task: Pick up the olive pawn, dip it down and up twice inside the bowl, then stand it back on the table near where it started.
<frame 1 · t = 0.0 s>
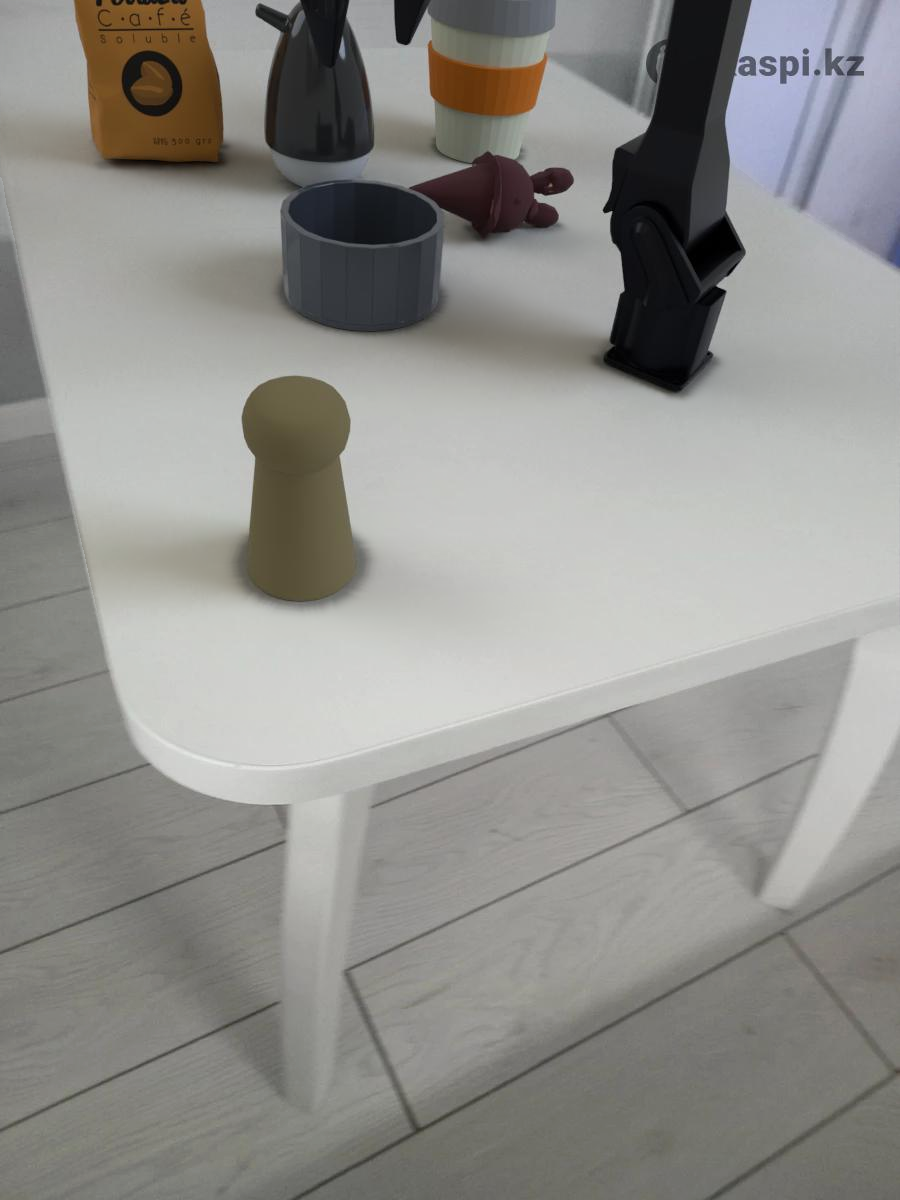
hand: (366, 54, 69), 15 cm above the table, tool pointing down, fingers open, 9 cm apart
bowl: (361, 292, 74), on the table
black glossy tall vessel: (319, 182, 89), on the table
reusable coffee cup: (477, 150, 99), on the table
coffee package: (161, 154, 90), on the table
olive pawn: (302, 565, 51), on the table
icecream: (485, 234, 84), on the table
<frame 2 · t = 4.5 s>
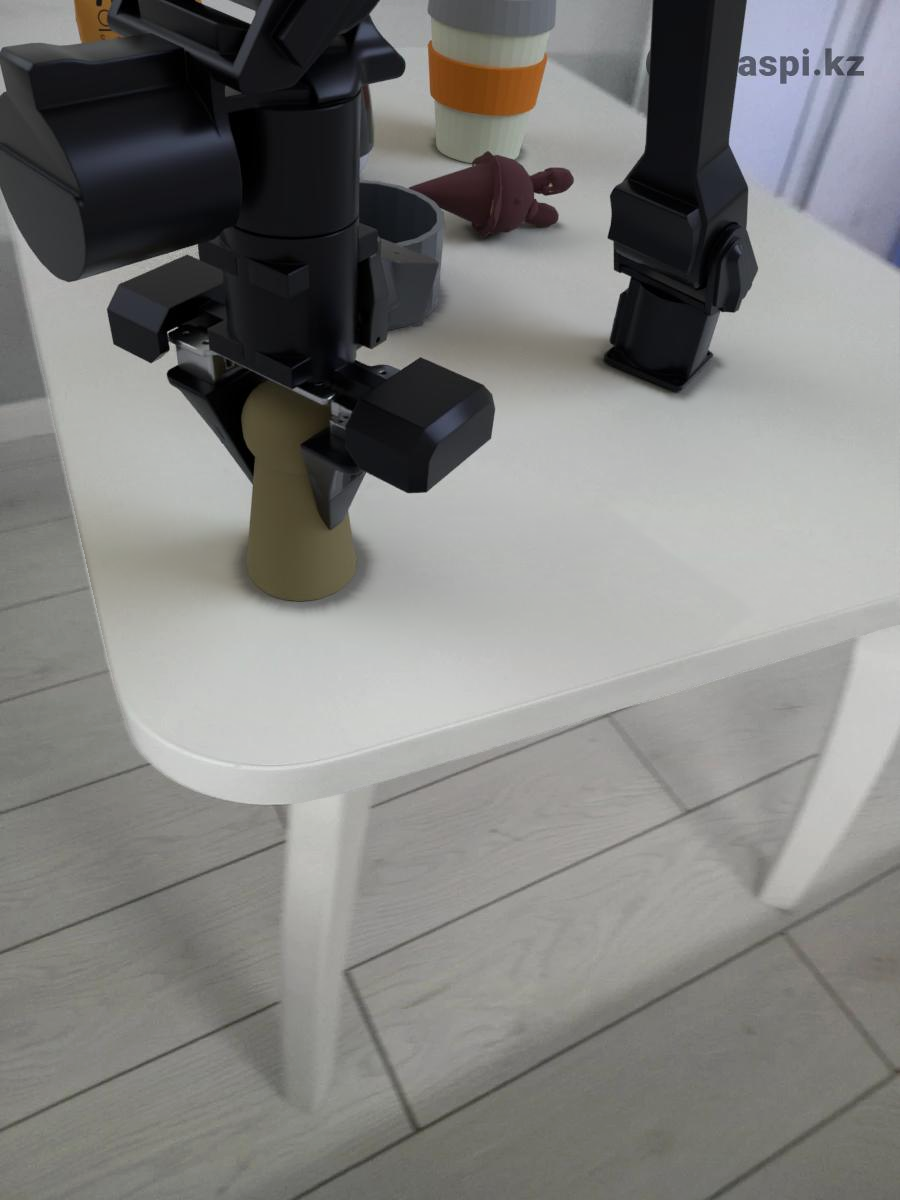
hand: (300, 506, 48), 4 cm above the table, tool pointing down, fingers closed on olive pawn, 4 cm apart
olive pawn: (302, 565, 51), on the table, touching gripper
everything else where it was.
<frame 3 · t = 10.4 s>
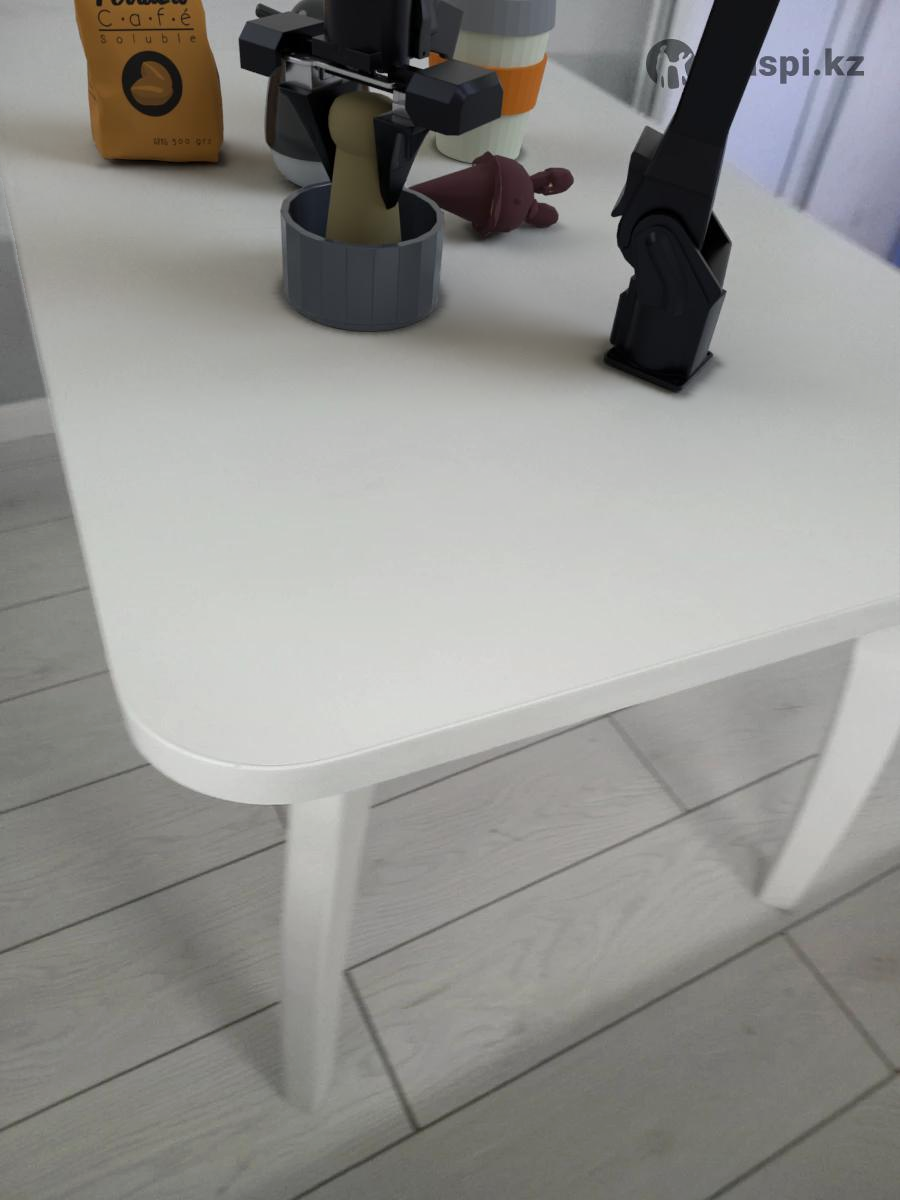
hand: (365, 198, 68), 7 cm above the table, tool pointing down, fingers closed on olive pawn, 4 cm apart
olive pawn: (363, 253, 71), point 3 cm above the table, touching gripper
everything else where it was.
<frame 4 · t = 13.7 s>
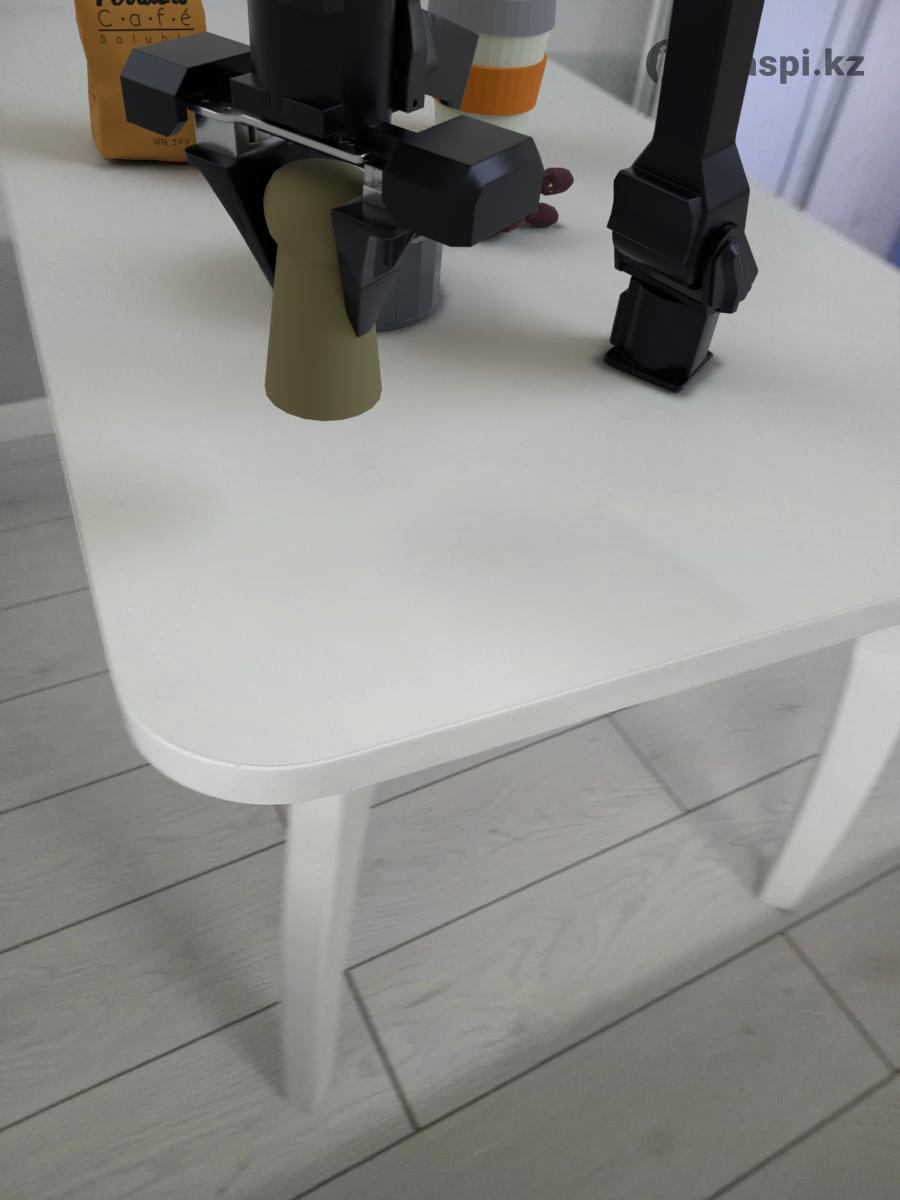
hand: (325, 316, 45), 13 cm above the table, tool pointing down, fingers closed on olive pawn, 4 cm apart
olive pawn: (323, 390, 48), point 9 cm above the table, touching gripper
everything else where it was.
when the fingers open (4 cm above the table, at t = 16.3 s): olive pawn stays where it is, on the table.
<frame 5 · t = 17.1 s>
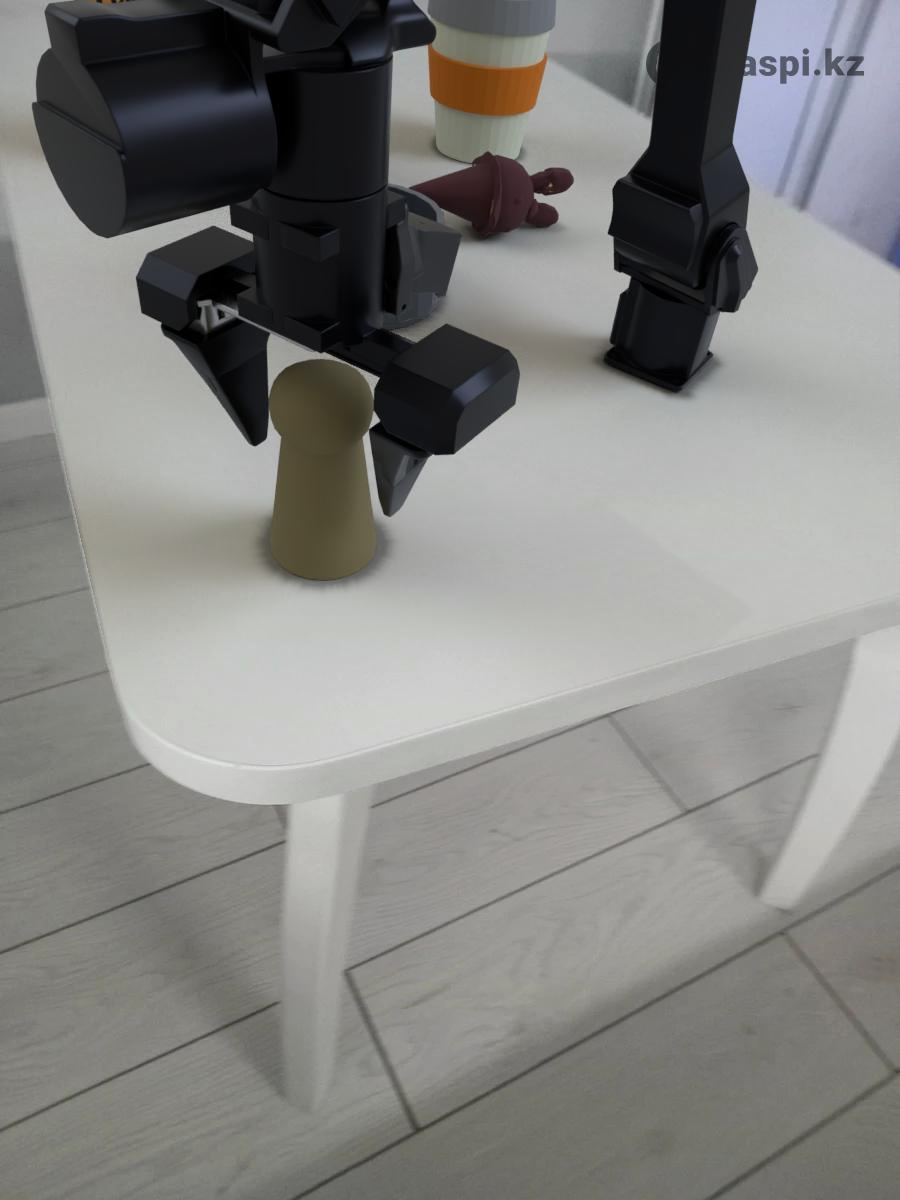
hand: (323, 476, 49), 5 cm above the table, tool pointing down, fingers open, 9 cm apart
olive pawn: (323, 545, 52), on the table
everything else where it was.
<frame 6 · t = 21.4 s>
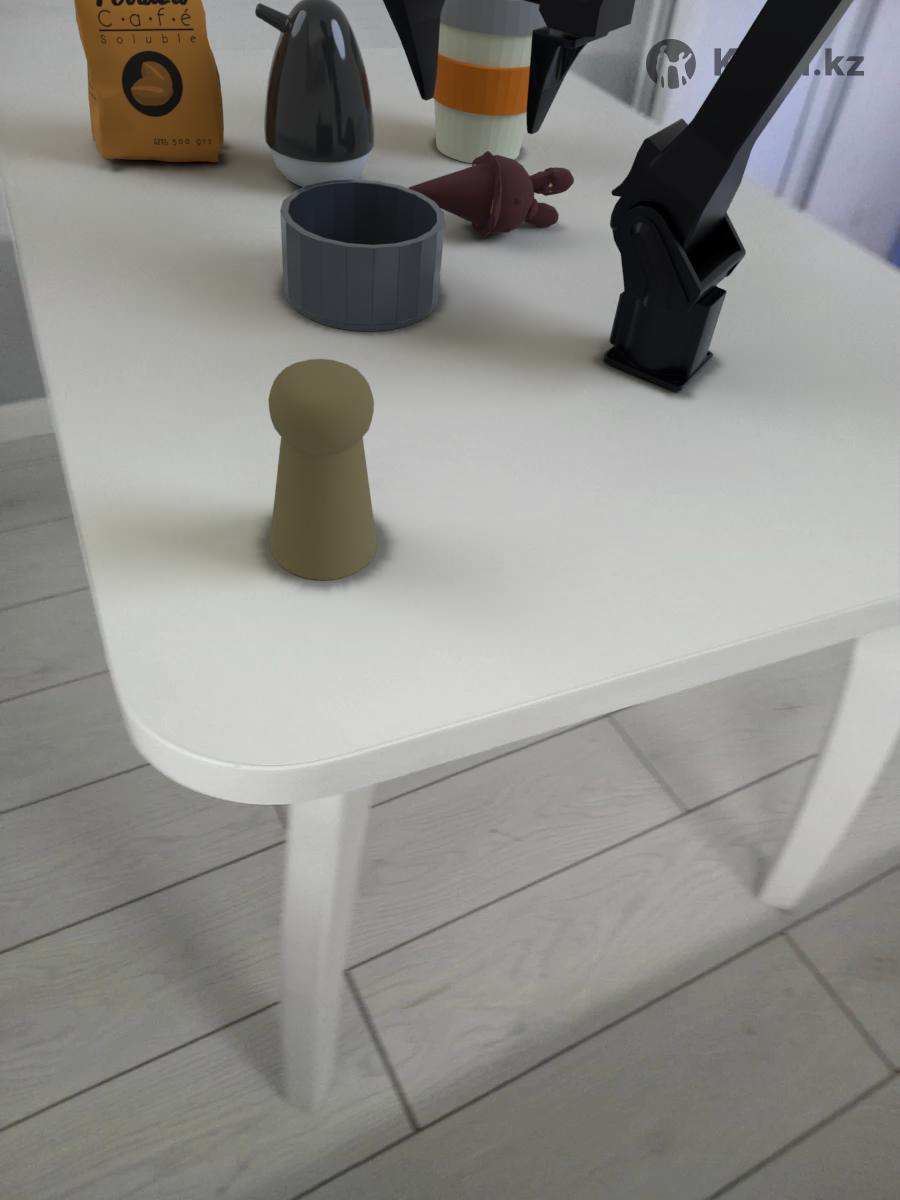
hand: (478, 115, 67), 13 cm above the table, tool pointing down, fingers open, 9 cm apart
nothing on the table moved.
at the end: olive pawn tilted 0°; the gripper is holding nothing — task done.
